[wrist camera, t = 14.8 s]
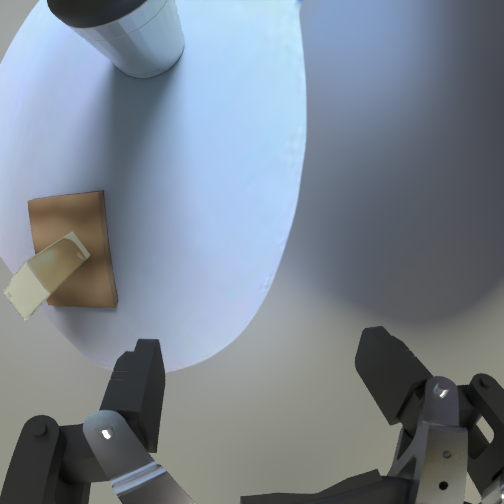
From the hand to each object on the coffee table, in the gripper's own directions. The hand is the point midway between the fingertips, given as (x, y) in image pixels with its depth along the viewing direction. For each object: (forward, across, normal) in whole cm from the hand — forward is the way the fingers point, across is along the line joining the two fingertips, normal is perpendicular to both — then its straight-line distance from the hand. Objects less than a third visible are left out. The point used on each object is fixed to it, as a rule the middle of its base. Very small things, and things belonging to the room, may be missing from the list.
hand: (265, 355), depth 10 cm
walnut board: (+28, +22, +5) cm, 36 cm away
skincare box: (+26, +22, +5) cm, 34 cm away
